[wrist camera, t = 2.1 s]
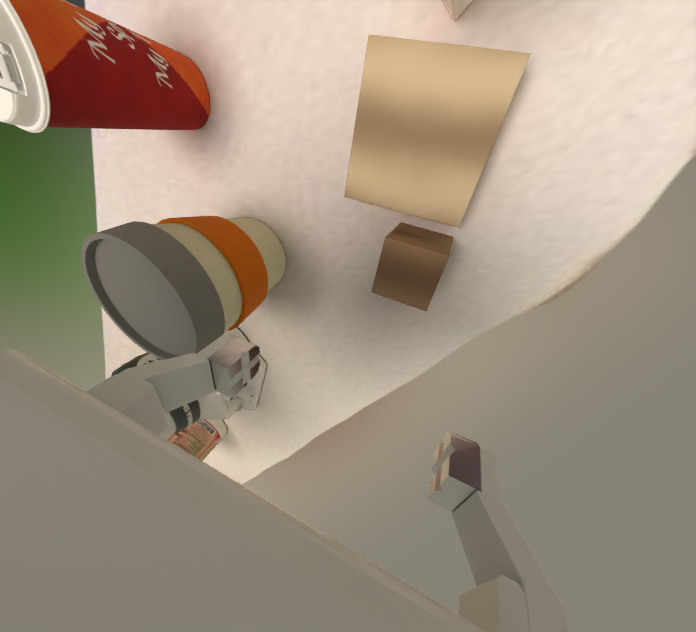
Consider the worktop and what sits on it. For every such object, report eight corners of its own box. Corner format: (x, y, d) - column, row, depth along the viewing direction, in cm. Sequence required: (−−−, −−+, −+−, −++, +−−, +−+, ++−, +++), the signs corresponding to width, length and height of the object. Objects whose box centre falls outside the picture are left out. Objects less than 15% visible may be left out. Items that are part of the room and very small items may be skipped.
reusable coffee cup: (312, 238, 29) (206, 294, 17) (282, 313, 37) (194, 387, 25) (223, 179, 30) (61, 193, 18) (212, 265, 37) (93, 315, 26)
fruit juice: (231, 438, 66) (110, 581, 43) (203, 425, 68) (76, 553, 46) (223, 414, 61) (82, 563, 38) (193, 401, 63) (45, 533, 41)
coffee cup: (222, 58, 24) (-28, -43, 12) (217, 155, 29) (38, 154, 17) (150, 21, 24) (-153, -110, 12) (157, 122, 29) (-54, 97, 17)
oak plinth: (459, 220, 23) (458, 227, 20) (356, 193, 25) (344, 196, 23) (522, 68, 17) (530, 53, 15) (380, 49, 19) (368, 34, 17)
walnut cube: (433, 284, 27) (426, 311, 22) (387, 269, 28) (371, 292, 23) (453, 236, 24) (449, 256, 19) (401, 222, 25) (385, 237, 20)
